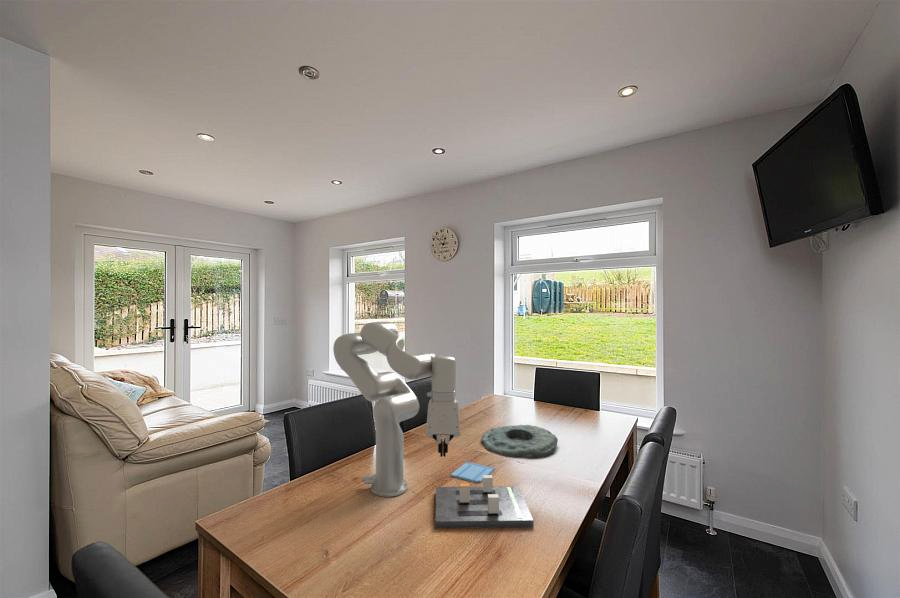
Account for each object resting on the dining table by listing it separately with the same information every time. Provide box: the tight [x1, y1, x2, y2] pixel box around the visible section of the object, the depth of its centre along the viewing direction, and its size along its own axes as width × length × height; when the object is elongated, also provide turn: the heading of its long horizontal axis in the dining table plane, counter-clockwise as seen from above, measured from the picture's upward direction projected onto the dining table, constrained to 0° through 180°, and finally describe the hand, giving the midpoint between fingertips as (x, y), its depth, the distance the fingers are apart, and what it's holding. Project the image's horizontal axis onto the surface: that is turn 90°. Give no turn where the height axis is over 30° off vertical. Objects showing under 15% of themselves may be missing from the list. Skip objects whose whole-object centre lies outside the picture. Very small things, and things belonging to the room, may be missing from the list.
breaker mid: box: [459, 482, 471, 502], centre depth 122 cm, size 3×2×5 cm, turn 92°
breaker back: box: [482, 474, 494, 492], centre depth 128 cm, size 3×2×5 cm, turn 92°
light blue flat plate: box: [450, 461, 495, 484], centre depth 148 cm, size 14×12×1 cm
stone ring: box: [481, 424, 559, 459], centre depth 180 cm, size 34×34×5 cm
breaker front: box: [488, 494, 499, 513], centre depth 115 cm, size 3×2×5 cm, turn 92°
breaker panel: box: [435, 485, 534, 530], centre depth 122 cm, size 28×21×2 cm
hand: (442, 454), depth 122 cm, fingers closed
